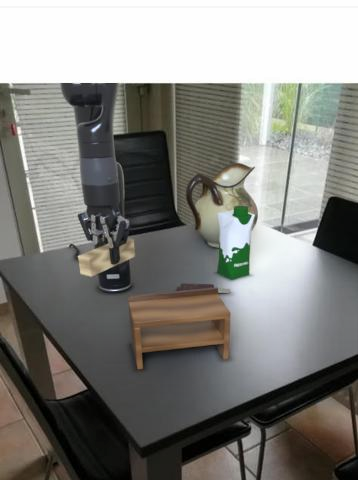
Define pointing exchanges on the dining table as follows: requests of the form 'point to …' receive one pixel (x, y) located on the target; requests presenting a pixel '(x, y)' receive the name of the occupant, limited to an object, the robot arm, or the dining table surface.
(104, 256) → the beech stick
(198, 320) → the shelf
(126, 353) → the dining table surface
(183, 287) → the ice cream bar
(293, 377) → the dining table surface
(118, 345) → the dining table surface
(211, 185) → the pitcher
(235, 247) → the milk carton
